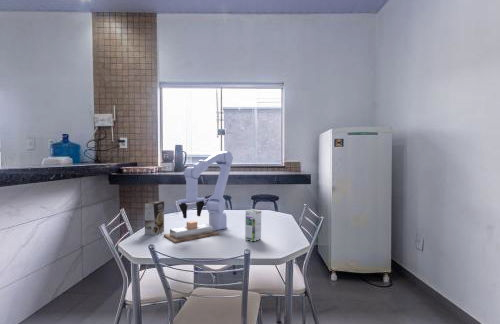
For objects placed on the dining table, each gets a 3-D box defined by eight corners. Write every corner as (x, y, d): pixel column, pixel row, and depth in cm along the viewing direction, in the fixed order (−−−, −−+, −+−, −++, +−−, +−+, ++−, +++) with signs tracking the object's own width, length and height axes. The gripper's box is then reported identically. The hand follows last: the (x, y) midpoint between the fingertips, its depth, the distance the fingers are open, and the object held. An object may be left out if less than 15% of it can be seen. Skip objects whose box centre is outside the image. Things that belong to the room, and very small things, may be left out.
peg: (193, 232, 144) (193, 220, 144) (197, 233, 141) (197, 222, 141) (186, 233, 142) (186, 221, 142) (190, 235, 139) (190, 223, 139)
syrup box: (244, 240, 134) (244, 210, 134) (252, 237, 139) (252, 208, 139) (253, 242, 131) (253, 211, 130) (261, 239, 135) (261, 209, 135)
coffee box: (155, 235, 142) (155, 203, 142) (144, 234, 143) (144, 203, 143) (164, 230, 151) (164, 201, 151) (153, 230, 152) (153, 200, 152)
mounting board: (205, 229, 155) (205, 227, 155) (219, 234, 144) (219, 232, 144) (163, 236, 140) (163, 234, 140) (175, 243, 129) (175, 240, 129)
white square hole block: (205, 229, 151) (205, 223, 151) (212, 231, 145) (212, 226, 145) (170, 235, 139) (170, 229, 139) (176, 238, 133) (176, 232, 133)
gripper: (182, 192, 134) (181, 220, 134) (208, 190, 143) (208, 216, 143) (175, 190, 140) (175, 217, 140) (201, 188, 149) (201, 214, 149)
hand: (191, 217), depth 142 cm, fingers open, 7 cm apart
